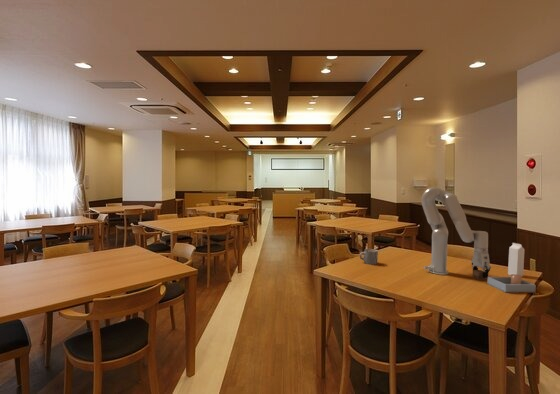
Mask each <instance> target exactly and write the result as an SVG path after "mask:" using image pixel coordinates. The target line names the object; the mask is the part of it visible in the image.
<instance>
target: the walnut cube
mask: <svg viewBox="0 0 560 394" xmlns="http://www.w3.org/2000/svg"><path fill="white" fill-rule="evenodd" d="M483 272H484V271H483V269H478V270H473V269H472V278H473V277H474V279H476V280H477V281H486V280H487V278H483Z"/></svg>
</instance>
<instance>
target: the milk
mask: <svg viewBox="0 0 560 394" xmlns="http://www.w3.org/2000/svg"><path fill="white" fill-rule="evenodd" d="M524 263H525V248H524V247H523V246H522V244H520V243H516V242H512V245H511V246H509V249H508V266H507V267H508V268H507V275H509V276H511V274H516V275H520V276H521V278H522V277H524V268H525V267H524V265H525V264H524Z"/></svg>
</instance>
